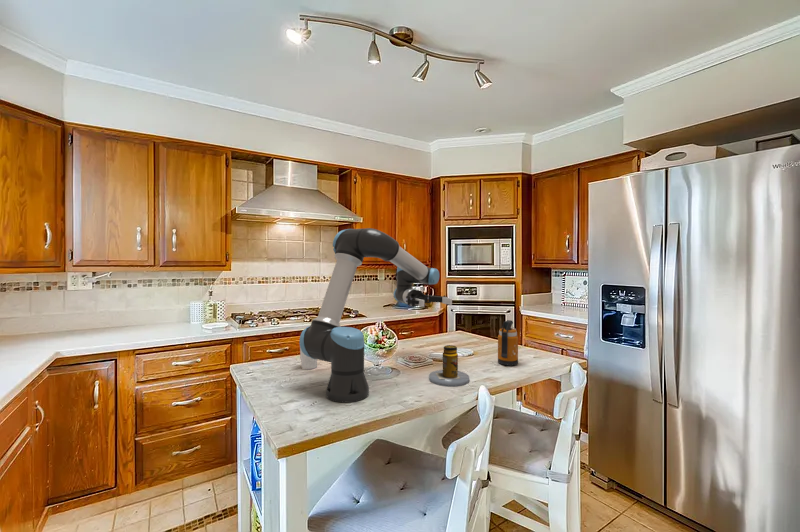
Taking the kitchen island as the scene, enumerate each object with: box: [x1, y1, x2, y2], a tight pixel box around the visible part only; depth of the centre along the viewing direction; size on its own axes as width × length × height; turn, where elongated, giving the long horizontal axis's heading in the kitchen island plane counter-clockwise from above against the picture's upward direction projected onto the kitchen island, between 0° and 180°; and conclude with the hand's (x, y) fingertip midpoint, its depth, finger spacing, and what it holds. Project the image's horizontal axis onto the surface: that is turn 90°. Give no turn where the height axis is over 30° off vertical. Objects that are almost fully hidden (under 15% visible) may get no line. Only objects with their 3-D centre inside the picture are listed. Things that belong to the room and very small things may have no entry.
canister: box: [497, 319, 519, 367], centre depth 172 cm, size 9×11×20 cm
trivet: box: [428, 369, 470, 387], centre depth 151 cm, size 16×16×2 cm
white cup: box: [299, 347, 318, 370], centre depth 167 cm, size 8×8×10 cm
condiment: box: [436, 344, 460, 379], centre depth 150 cm, size 7×8×12 cm
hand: (437, 302), depth 158 cm, fingers open, 13 cm apart
